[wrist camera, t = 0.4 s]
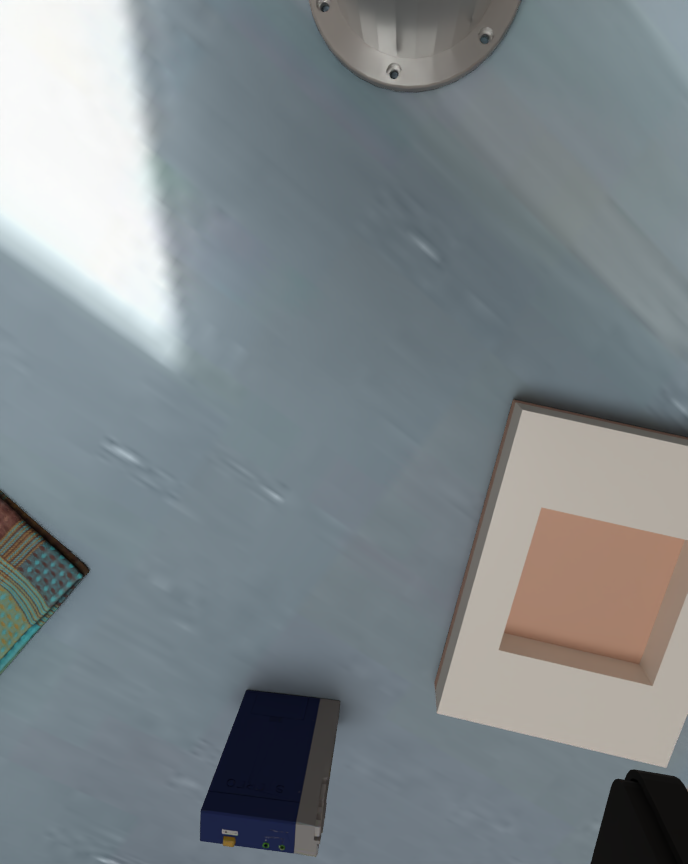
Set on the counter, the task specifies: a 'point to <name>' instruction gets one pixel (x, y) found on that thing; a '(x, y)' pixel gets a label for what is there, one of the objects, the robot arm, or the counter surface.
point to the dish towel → (30, 578)
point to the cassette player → (273, 775)
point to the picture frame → (577, 589)
